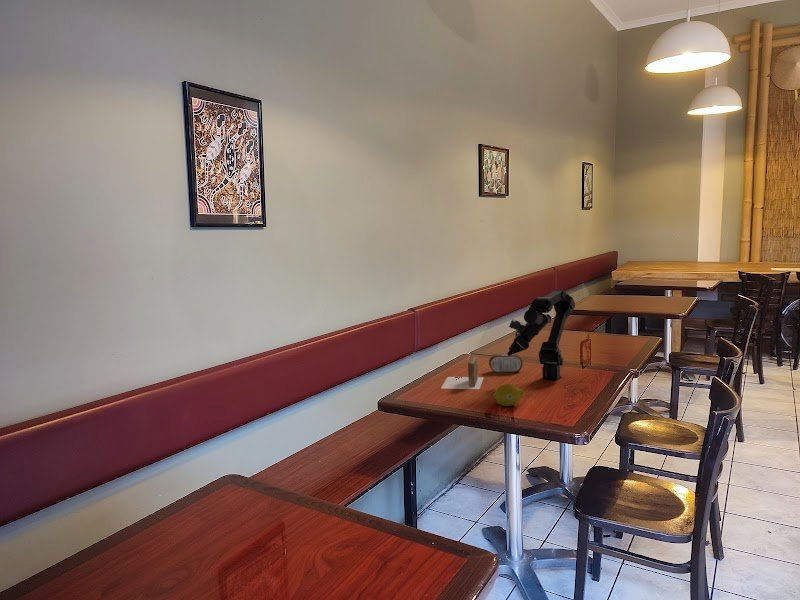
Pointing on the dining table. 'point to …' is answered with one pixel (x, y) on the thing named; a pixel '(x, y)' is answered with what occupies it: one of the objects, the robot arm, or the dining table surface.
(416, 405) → the dining table surface
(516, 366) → the tin
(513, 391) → the lemon
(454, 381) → the mat
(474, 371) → the board
